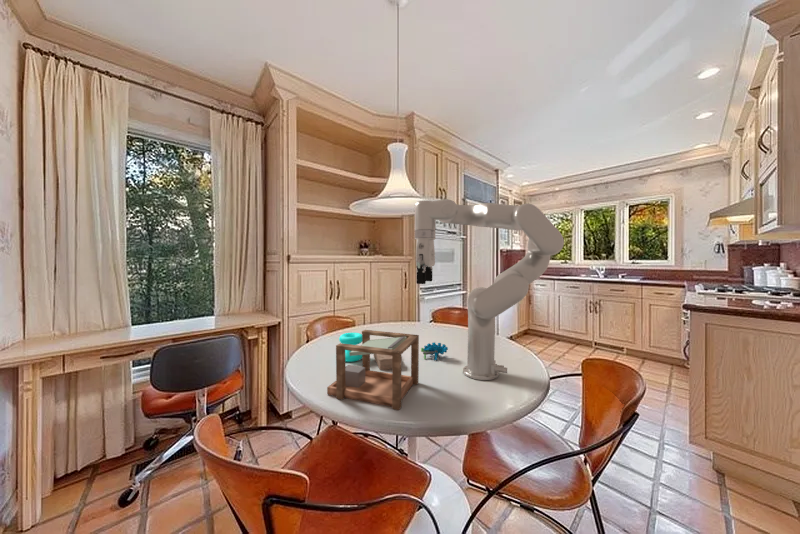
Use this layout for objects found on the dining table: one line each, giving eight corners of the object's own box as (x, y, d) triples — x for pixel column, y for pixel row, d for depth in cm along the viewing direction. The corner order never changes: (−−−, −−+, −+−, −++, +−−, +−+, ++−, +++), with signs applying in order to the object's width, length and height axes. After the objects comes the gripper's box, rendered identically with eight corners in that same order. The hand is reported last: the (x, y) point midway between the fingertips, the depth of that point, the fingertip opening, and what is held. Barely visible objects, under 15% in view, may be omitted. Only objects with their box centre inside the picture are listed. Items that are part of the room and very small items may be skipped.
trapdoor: (406, 339, 105) (406, 335, 105) (391, 352, 92) (390, 348, 92) (369, 342, 110) (368, 339, 110) (349, 355, 97) (349, 351, 97)
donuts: (336, 333, 133) (359, 330, 137) (336, 356, 133) (359, 353, 138) (342, 339, 124) (366, 336, 128) (342, 364, 124) (366, 360, 129)
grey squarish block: (365, 367, 106) (348, 364, 108) (358, 372, 101) (340, 370, 104) (365, 381, 106) (348, 378, 109) (358, 387, 102) (341, 384, 104)
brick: (401, 369, 120) (401, 357, 120) (379, 371, 118) (379, 358, 118) (392, 355, 136) (392, 344, 136) (373, 356, 134) (373, 345, 134)
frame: (418, 382, 108) (418, 335, 107) (398, 410, 89) (399, 353, 88) (354, 373, 116) (354, 328, 115) (324, 396, 97) (324, 344, 96)
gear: (449, 351, 135) (445, 340, 128) (449, 364, 131) (446, 353, 124) (423, 353, 137) (419, 342, 130) (423, 366, 133) (418, 355, 126)
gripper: (429, 234, 105) (428, 285, 106) (440, 236, 121) (439, 280, 122) (407, 234, 108) (407, 284, 109) (421, 236, 124) (421, 279, 125)
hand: (424, 282), depth 115 cm, fingers open, 9 cm apart
